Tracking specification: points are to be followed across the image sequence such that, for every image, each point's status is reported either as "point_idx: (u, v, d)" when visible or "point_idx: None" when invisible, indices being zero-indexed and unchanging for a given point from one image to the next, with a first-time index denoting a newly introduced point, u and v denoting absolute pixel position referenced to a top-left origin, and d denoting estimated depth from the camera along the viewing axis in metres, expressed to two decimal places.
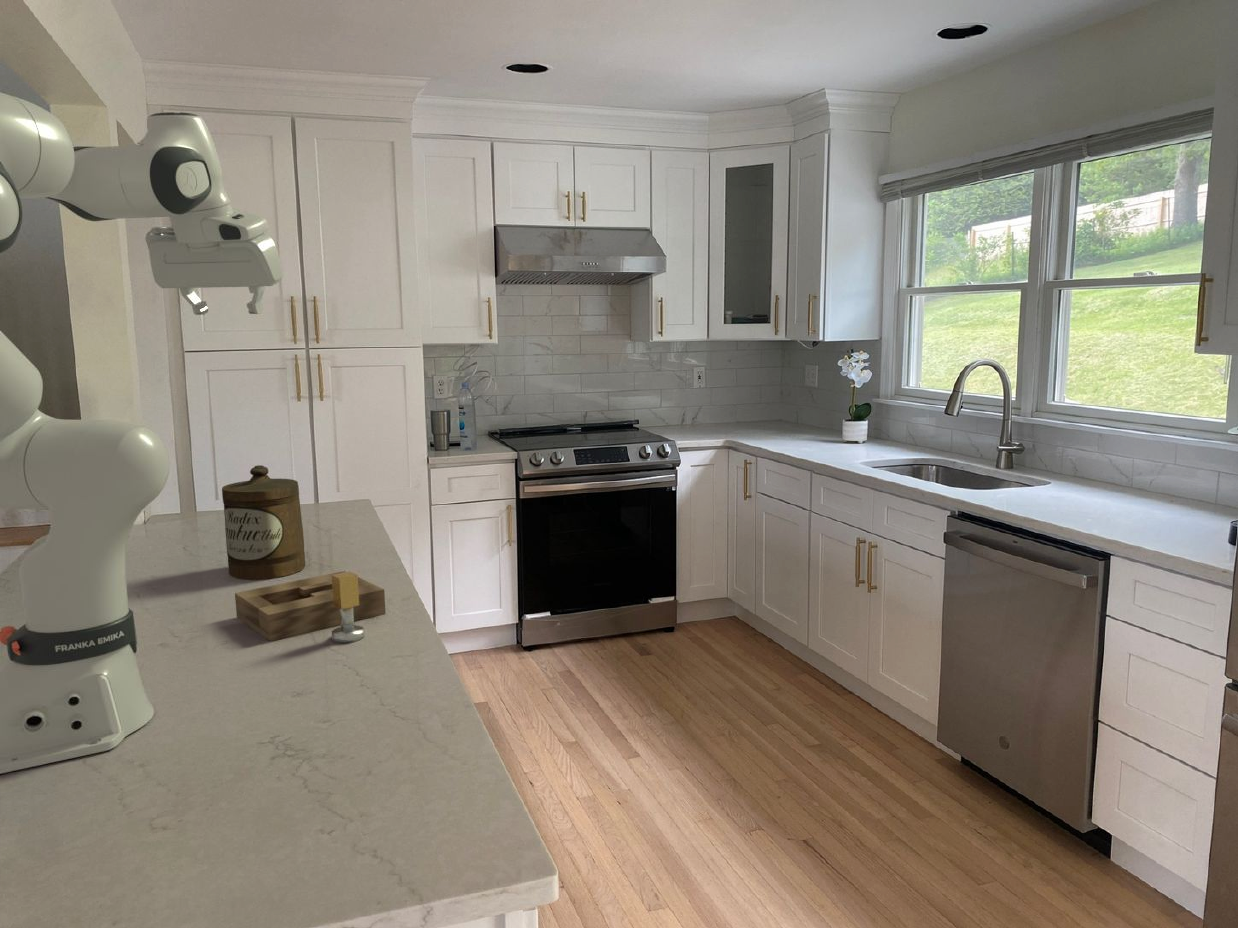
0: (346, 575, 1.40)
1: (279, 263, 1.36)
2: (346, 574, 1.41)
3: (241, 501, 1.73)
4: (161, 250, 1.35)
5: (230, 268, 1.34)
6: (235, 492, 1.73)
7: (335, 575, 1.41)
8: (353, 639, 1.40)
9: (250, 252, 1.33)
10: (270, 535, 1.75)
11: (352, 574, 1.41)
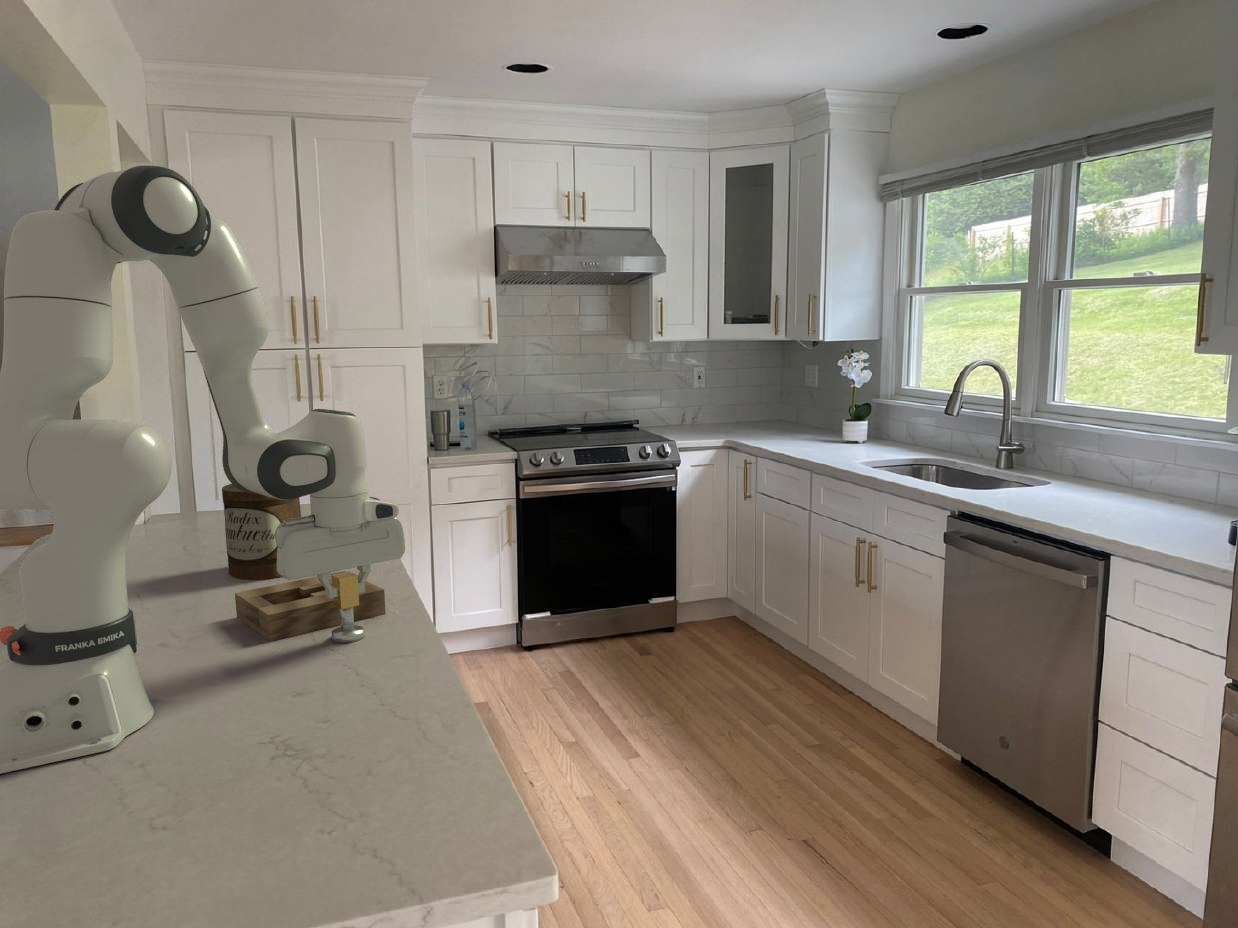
0: (346, 575, 1.40)
1: None
2: (346, 574, 1.41)
3: (241, 501, 1.73)
4: (302, 540, 1.34)
5: (368, 546, 1.41)
6: (235, 492, 1.73)
7: (335, 575, 1.41)
8: (353, 639, 1.40)
9: (391, 528, 1.43)
10: (270, 535, 1.75)
11: (352, 574, 1.41)
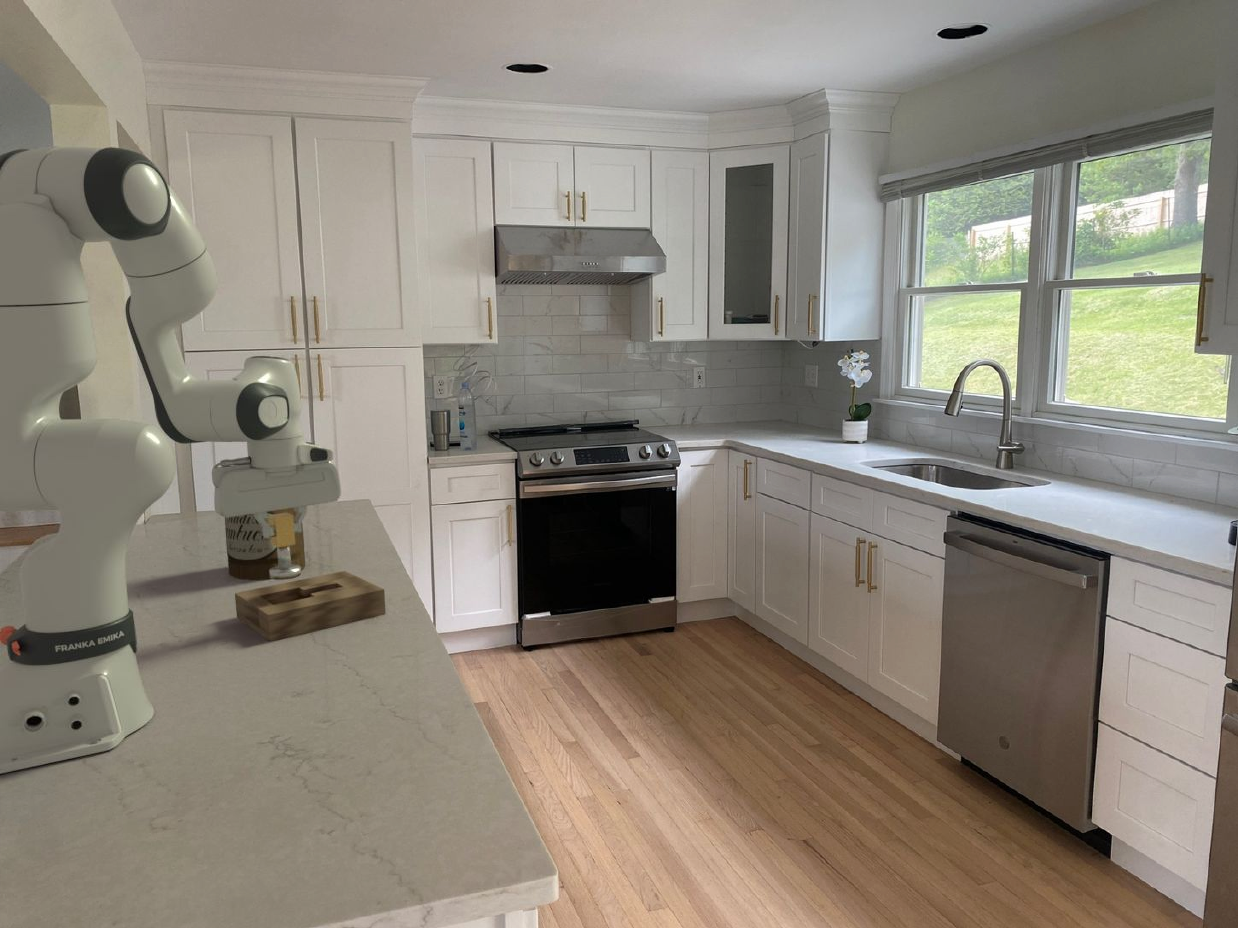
0: (283, 516, 1.48)
1: None
2: (282, 514, 1.48)
3: None
4: (237, 479, 1.41)
5: (304, 488, 1.48)
6: None
7: (272, 515, 1.48)
8: (289, 576, 1.48)
9: (326, 472, 1.51)
10: None
11: (288, 514, 1.48)
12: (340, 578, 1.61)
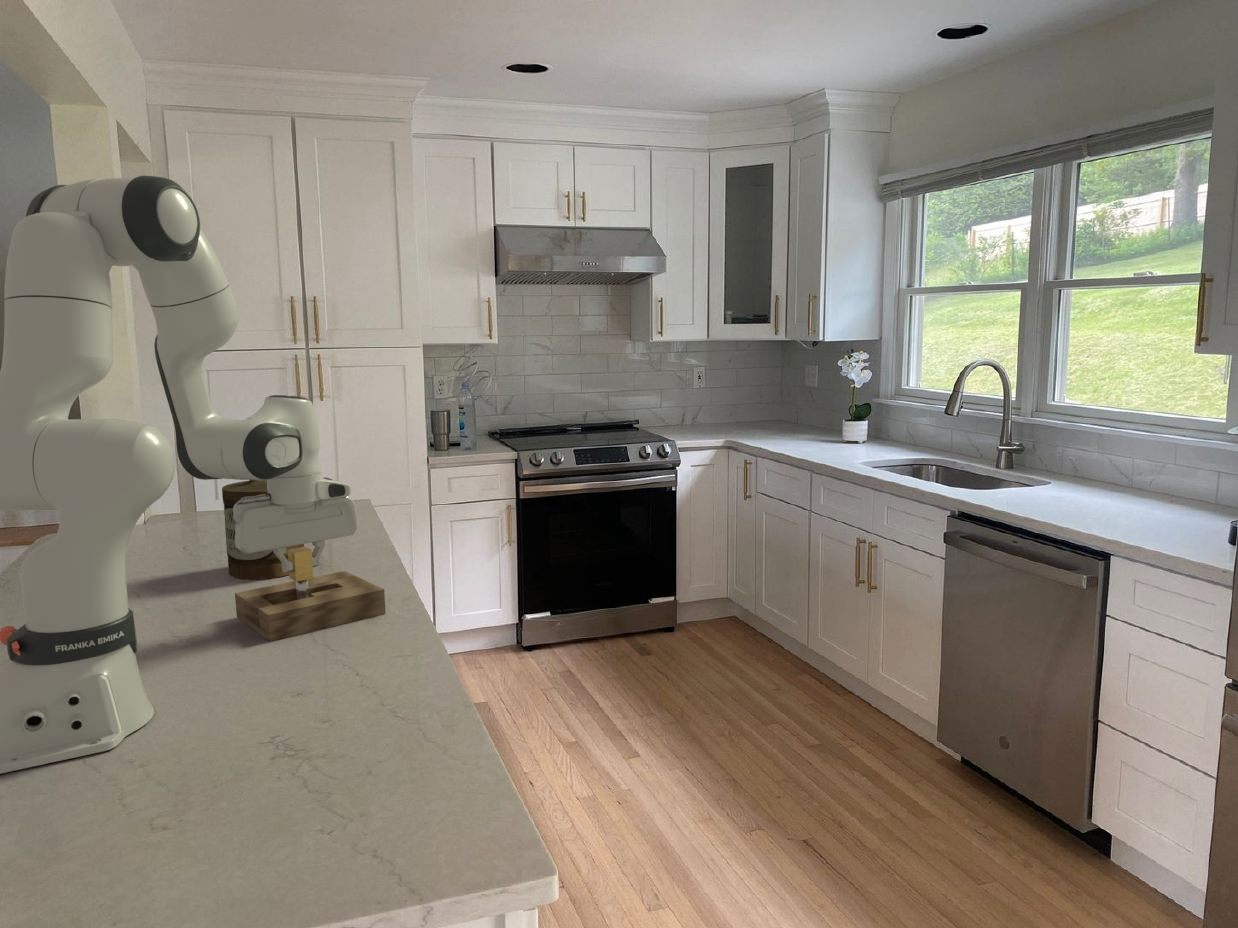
0: (301, 550, 1.50)
1: None
2: (301, 549, 1.51)
3: None
4: (258, 516, 1.44)
5: (322, 523, 1.51)
6: (235, 492, 1.73)
7: (290, 550, 1.51)
8: None
9: (344, 507, 1.53)
10: None
11: (306, 549, 1.51)
12: (340, 578, 1.61)
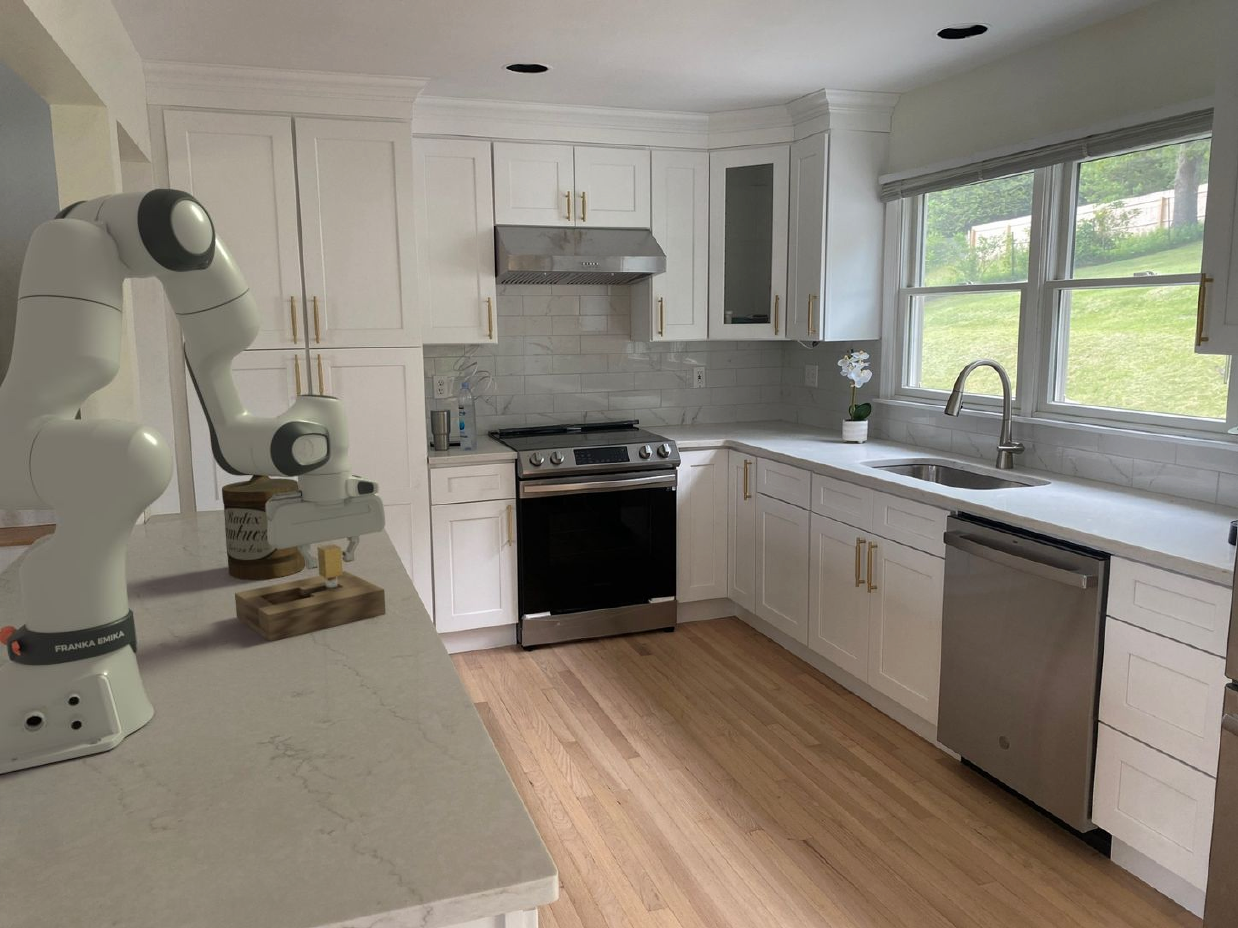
0: (331, 548, 1.54)
1: None
2: (331, 546, 1.55)
3: (241, 501, 1.73)
4: (290, 513, 1.47)
5: (351, 520, 1.55)
6: (235, 492, 1.73)
7: (321, 547, 1.54)
8: None
9: (372, 504, 1.57)
10: None
11: (336, 547, 1.55)
12: (340, 578, 1.61)
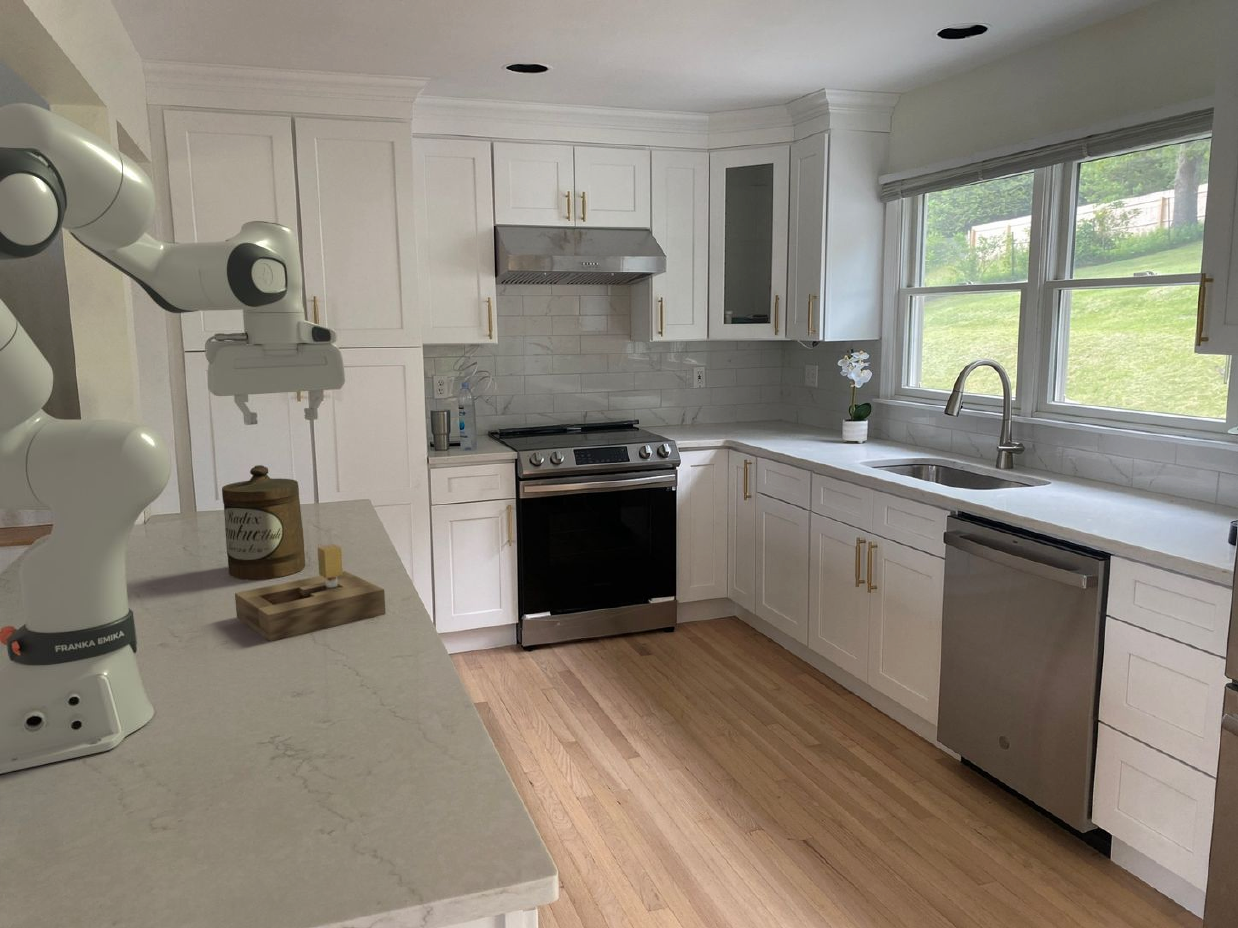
0: (331, 548, 1.54)
1: None
2: (331, 546, 1.55)
3: (241, 501, 1.73)
4: (233, 355, 1.30)
5: (305, 371, 1.37)
6: (235, 492, 1.73)
7: (321, 547, 1.54)
8: None
9: (329, 356, 1.39)
10: (270, 535, 1.75)
11: (336, 547, 1.55)
12: (340, 578, 1.61)
